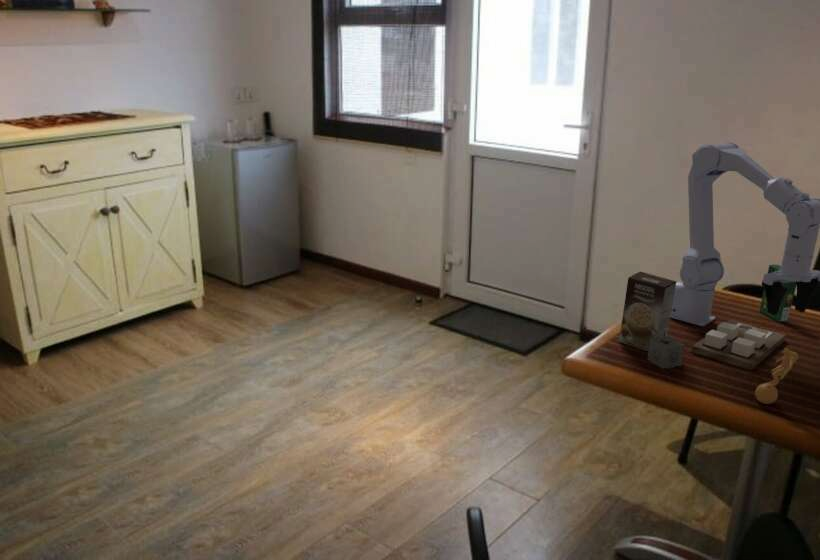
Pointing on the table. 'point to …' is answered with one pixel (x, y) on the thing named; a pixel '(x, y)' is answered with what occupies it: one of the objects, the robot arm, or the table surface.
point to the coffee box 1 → (646, 309)
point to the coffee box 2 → (786, 300)
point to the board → (726, 356)
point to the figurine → (776, 378)
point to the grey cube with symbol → (665, 352)
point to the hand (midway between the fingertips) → (785, 312)
